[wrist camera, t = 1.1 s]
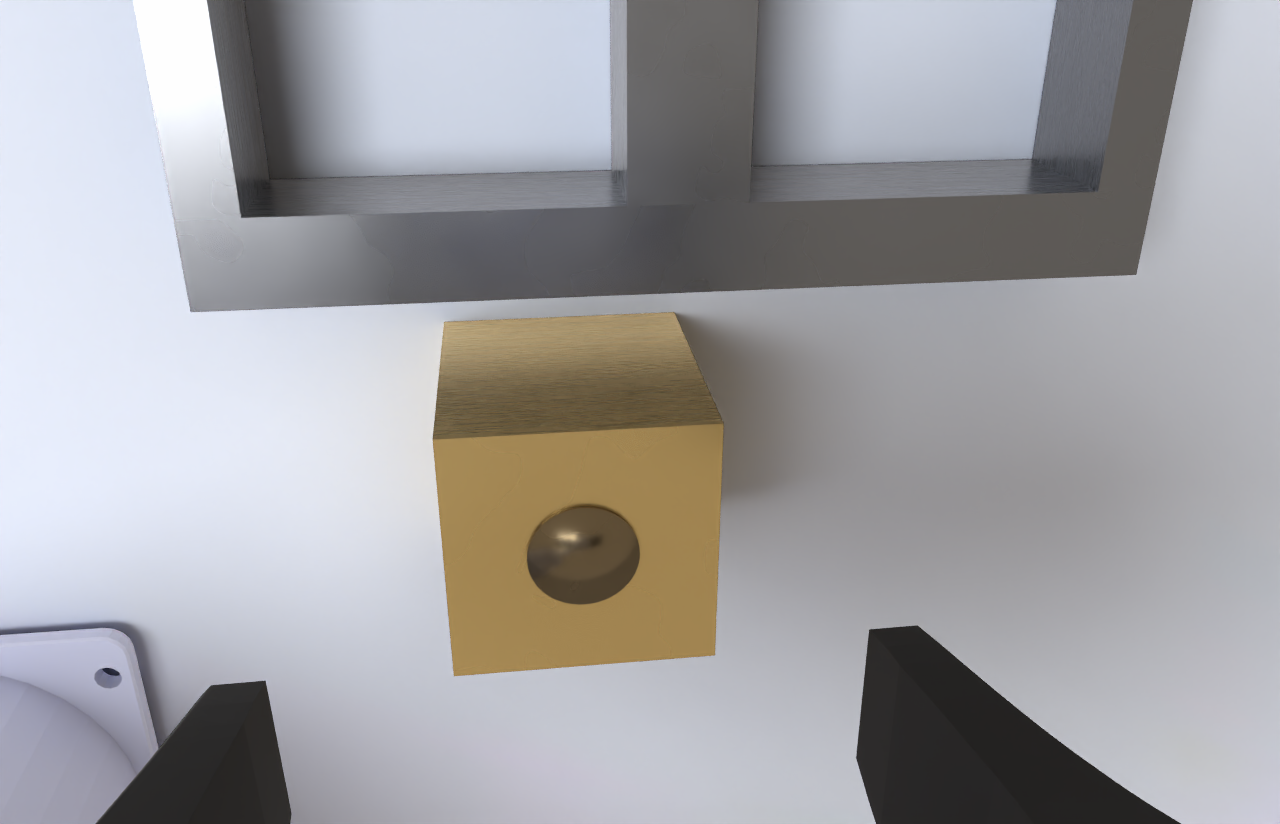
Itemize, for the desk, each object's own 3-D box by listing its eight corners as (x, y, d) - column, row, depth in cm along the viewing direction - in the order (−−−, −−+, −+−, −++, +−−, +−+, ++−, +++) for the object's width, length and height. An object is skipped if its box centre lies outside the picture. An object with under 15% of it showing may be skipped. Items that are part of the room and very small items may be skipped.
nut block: (670, 507, 23) (715, 658, 19) (460, 520, 23) (453, 678, 18) (673, 311, 21) (725, 425, 17) (444, 321, 21) (432, 441, 16)
